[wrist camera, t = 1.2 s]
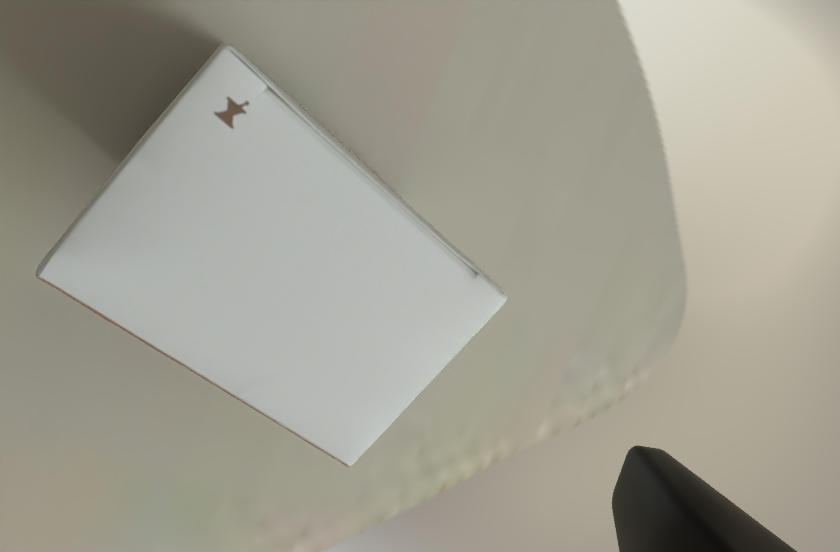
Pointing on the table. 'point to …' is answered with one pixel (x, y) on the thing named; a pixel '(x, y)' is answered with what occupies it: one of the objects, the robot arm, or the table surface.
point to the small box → (273, 263)
